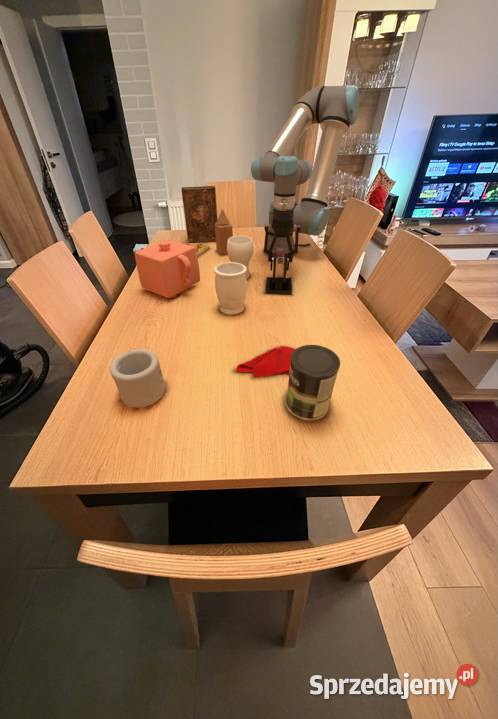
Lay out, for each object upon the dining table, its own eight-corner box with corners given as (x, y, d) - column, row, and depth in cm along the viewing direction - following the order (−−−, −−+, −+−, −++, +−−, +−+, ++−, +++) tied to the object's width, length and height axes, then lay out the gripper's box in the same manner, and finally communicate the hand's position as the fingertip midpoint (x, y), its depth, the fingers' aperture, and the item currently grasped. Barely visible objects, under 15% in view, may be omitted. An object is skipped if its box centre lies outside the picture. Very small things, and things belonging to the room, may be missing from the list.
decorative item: (216, 251, 148) (213, 207, 135) (228, 249, 150) (226, 205, 137) (221, 255, 143) (218, 210, 130) (233, 253, 146) (232, 208, 133)
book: (218, 237, 163) (214, 185, 147) (219, 241, 159) (216, 188, 143) (187, 240, 161) (180, 187, 144) (188, 243, 156) (181, 189, 140)
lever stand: (266, 280, 123) (267, 248, 115) (291, 280, 123) (294, 249, 114) (265, 293, 114) (266, 261, 106) (291, 294, 113) (294, 262, 105)
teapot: (181, 267, 133) (174, 225, 121) (220, 280, 123) (217, 236, 111) (135, 289, 117) (123, 242, 106) (176, 305, 107) (167, 256, 96)
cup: (254, 271, 130) (254, 235, 120) (252, 282, 122) (252, 244, 112) (230, 270, 131) (228, 234, 121) (226, 281, 123) (224, 244, 113)
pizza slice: (210, 247, 152) (209, 241, 150) (205, 263, 136) (204, 257, 134) (179, 247, 152) (178, 241, 150) (171, 263, 136) (170, 257, 134)
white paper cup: (250, 304, 108) (251, 264, 98) (241, 319, 101) (240, 277, 91) (223, 299, 111) (221, 260, 101) (212, 313, 103) (208, 272, 94)
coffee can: (290, 422, 68) (296, 377, 58) (282, 389, 75) (286, 345, 66) (334, 419, 68) (347, 374, 59) (322, 387, 76) (332, 343, 67)
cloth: (329, 350, 88) (330, 344, 86) (334, 383, 77) (335, 376, 76) (241, 344, 90) (240, 338, 88) (234, 376, 79) (234, 369, 78)
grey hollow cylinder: (167, 403, 72) (159, 372, 66) (120, 413, 70) (107, 382, 63) (163, 367, 82) (155, 338, 76) (122, 375, 80) (110, 345, 73)
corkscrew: (272, 258, 121) (273, 251, 119) (287, 258, 120) (288, 252, 119) (272, 263, 111) (272, 257, 110) (288, 264, 110) (288, 257, 109)
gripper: (256, 210, 106) (255, 272, 120) (310, 211, 104) (303, 274, 119) (258, 204, 111) (257, 265, 126) (309, 206, 110) (302, 266, 125)
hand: (279, 269), depth 123 cm, fingers closed on corkscrew, 6 cm apart
